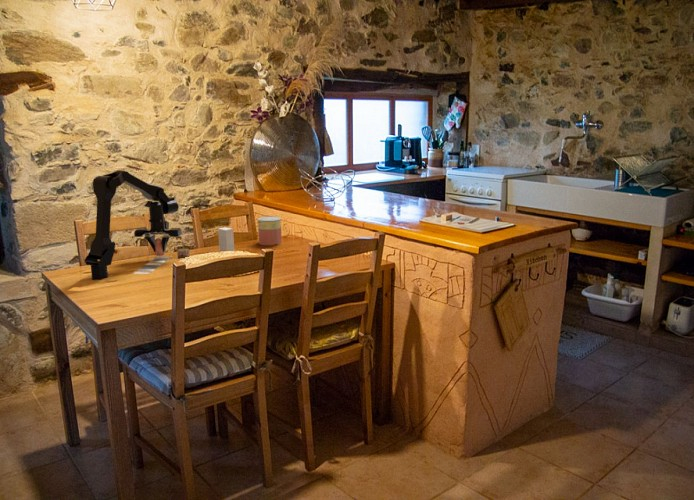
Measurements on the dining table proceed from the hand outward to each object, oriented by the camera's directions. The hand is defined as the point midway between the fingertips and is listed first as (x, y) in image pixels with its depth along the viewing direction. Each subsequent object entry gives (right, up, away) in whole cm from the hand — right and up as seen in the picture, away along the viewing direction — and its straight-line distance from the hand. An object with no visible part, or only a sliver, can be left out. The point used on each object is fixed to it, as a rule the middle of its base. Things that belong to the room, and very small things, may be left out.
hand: (159, 251), depth 246 cm
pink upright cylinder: (0, -1, 0) cm, 1 cm away
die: (+8, -3, +6) cm, 11 cm away
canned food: (+43, +4, +35) cm, 56 cm away
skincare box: (+26, -1, +13) cm, 29 cm away
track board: (0, -7, -8) cm, 11 cm away
